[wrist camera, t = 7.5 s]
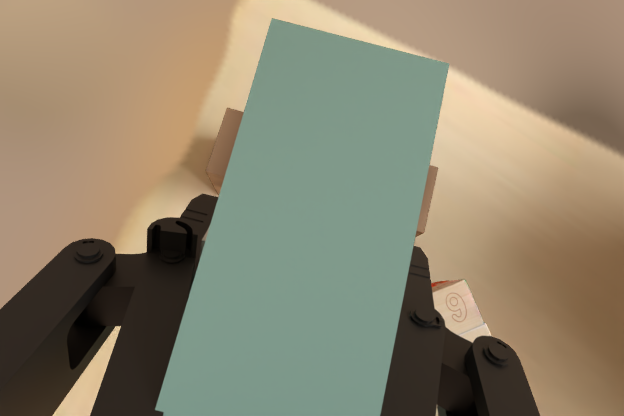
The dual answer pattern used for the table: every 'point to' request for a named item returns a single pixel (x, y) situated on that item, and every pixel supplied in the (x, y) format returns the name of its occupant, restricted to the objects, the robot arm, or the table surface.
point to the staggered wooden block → (226, 144)
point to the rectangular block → (310, 233)
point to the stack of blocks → (459, 310)
